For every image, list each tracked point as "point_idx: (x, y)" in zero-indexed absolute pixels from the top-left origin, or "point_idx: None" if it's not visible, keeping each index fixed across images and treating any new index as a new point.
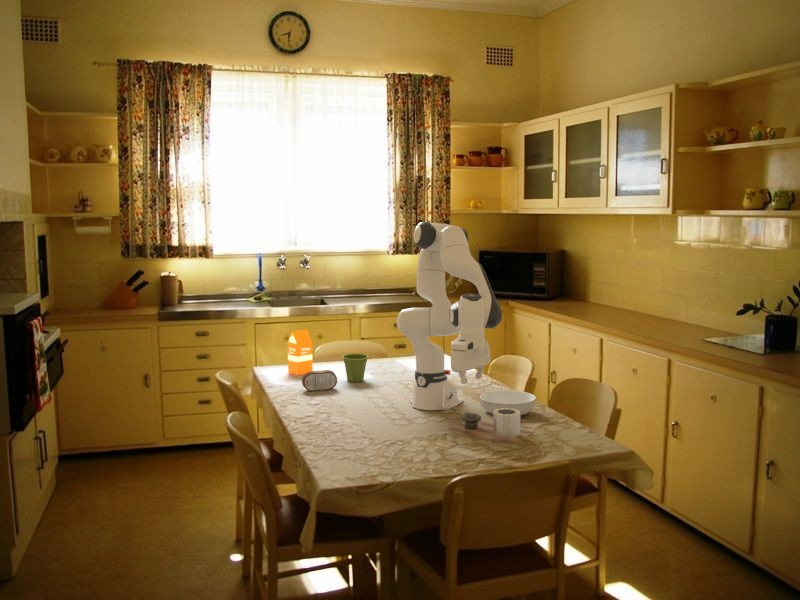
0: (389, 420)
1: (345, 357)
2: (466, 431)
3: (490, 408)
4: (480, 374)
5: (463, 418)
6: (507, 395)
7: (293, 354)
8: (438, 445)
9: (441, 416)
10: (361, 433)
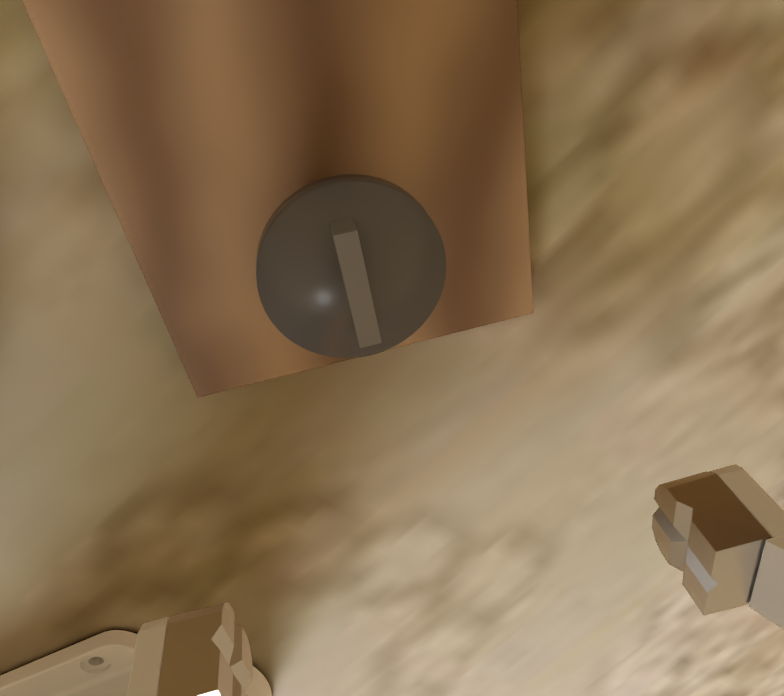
0: (512, 613)
1: None
2: (447, 183)
3: None
4: (192, 685)
5: (443, 281)
6: None
7: None
8: (741, 141)
9: (248, 562)
10: None
